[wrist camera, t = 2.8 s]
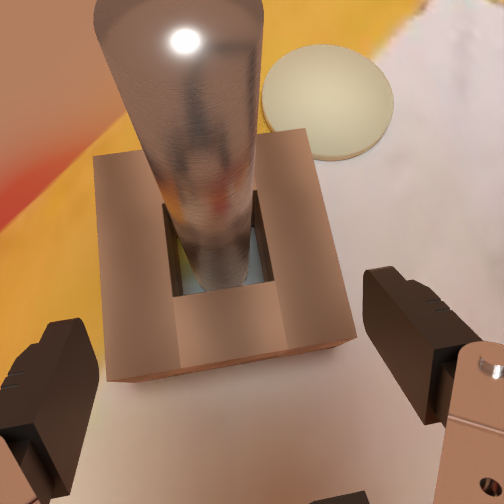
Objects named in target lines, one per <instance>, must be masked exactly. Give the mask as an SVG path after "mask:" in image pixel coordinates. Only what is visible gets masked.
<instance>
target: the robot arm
mask: <svg viewBox="0 0 504 504" xmlns="http://www.w3.org/2000/svg"><path fill="white" fill-rule="evenodd" d="M363 323H364V327H365V330H366V332H367V335H368V336H369V338H370V340H371V341H372V343H373V344H374V346H375V348H376V349H377V351H378V352H379V354H380V355H381V357H382V359H383V360H384V362H385V363H386V365H387V367H388V368H389V370H390V371H391V373H392V375H393V376H394V378H395V379H396V381H397V383H398V384H399V386H400V387H401V389H402V390H403V392H404V394H405V395H406V397H407V398H408V400H409V402H410V403H411V405H412V406H413V408H414V410H415V411H416V413H417V414H418V416H419V417H420V419H421V421H422V422H423V424H424V425H428V424H433V423H438V422H441V423H442V424H443V426H444V427H445V429H446V431H445V437H444V443H443V448H442V454H441V460H440V466H439V472H438V478H437V484H436V490H435V496H434V502H433V504H504V345H502V344H498V343H494V342H486V341H483V340H482V339H481V338H480V337H479V336H478V335H477V334H476V333H475V332H474V331H473V330H472V329H471V328H470V327H469V326H468V325H466V324H465V323H464V322H463V321H462V320H461V319H460V318H459V317H458V316H457V315H456V314H455V313H454V312H453V311H452V310H450V308H449V307H448V306H447V305H446V304H445V303H444V302H443V301H441V299H440V298H439V297H438V296H437V295H436V294H435V293H434V292H433V291H432V290H431V289H430V288H429V287H427V286H425V285H423V284H421V283H419V282H417V281H415V280H408V281H406V280H405V279H404V277H403V276H402V275H401V274H400V273H399V272H398V271H397V270H396V269H395V268H394V267H393V266H387V267H382V268H376V269H370V270H366V271H365V272H364V276H363ZM98 383H99V367H98V362H97V359H96V356H95V353H94V351H93V348H92V345H91V342H90V340H89V337H88V334H87V331H86V329H85V326H84V323H83V322H82V320H81V319H80V318H74V319H68V320H62V321H56V322H50V323H49V324H48V325H47V327H46V329H45V331H44V333H43V335H42V337H41V339H40V341H39V343H36V344H31V345H30V346H29V347H28V348H27V349H26V350H25V351H24V352H23V353H21V354H20V355H19V356H18V357H17V358H16V360H15V361H14V363H13V365H12V367H11V369H10V371H9V372H8V377H6V378H5V380H4V382H3V384H2V385H1V390H0V504H49V503H50V499H53V498H58V497H63V496H68V495H70V492H71V488H72V484H73V480H74V476H75V472H76V469H77V465H78V461H79V457H80V453H81V449H82V445H83V441H84V438H85V434H86V430H87V426H88V422H89V418H90V414H91V410H92V407H93V403H94V399H95V395H96V391H97V387H98ZM310 504H370V503H369V501H368V498H367V496H366V493H365V491H360V492H356V493H351V494H346V495H341V496H337V497H332V498H327V499H322V500H318V501H313V502H311V503H310Z"/></svg>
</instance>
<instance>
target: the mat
mask: <svg viewBox="0 0 504 504" xmlns="http://www.w3.org/2000/svg"><path fill="white" fill-rule="evenodd" d="M393 106H394V101H393V94H392V90H391V87H390V84H389V82H388V80H387V78H386V77H385V75H384V74H383V72H382V71H381V70H380V69H379V68H378V67H377V66H376V65H375V64H374V63H373V62H372V61H371V60H369V59H368V58H366V57H365V56H363V55H362V54H360V53H358V52H356V51H353V50H351V49H348V48H345V47H341V46H336V45H325V44H320V45H310V46H305V47H302V48H298V49H296V50H294V51H291V52H290V53H288V54H286V55H284V56H283V57H282V58H280V59H279V60H278V61H277V62H276V63H275V64H274V65H273V67H272V68H271V69H270V71H269V72H268V74H267V76H266V79H265V81H264V85H263V91H262V111H263V115H264V119H265V121H266V123H267V125H268V127H269V129H270V130H271V132H278V131H286V130H293V129H301V128H306V132H307V136H308V141H309V145H310V149H311V153H312V157H313V159H317V160H323V161H336V160H344V159H349V158H352V157H355V156H358V155H360V154H362V153H364V152H365V151H367V150H368V149H370V148H371V147H372V146H374V145H375V144H376V143H377V142H378V140H379V139H380V138H381V137H382V135H383V133H384V132H385V130H386V128H387V126H388V125H389V122H390V120H391V117H392V113H393Z"/></svg>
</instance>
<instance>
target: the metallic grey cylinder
mask: <svg viewBox="0 0 504 504" xmlns="http://www.w3.org/2000/svg"><path fill="white" fill-rule="evenodd" d="M263 22H264V11H263V4H262V1H261V0H97V2H96V5H95V10H94V28H95V33H96V36H97V39H98V41H99V43H100V46H101V49H102V51H103V54H104V56H105V58H106V61H107V63H108V66H109V68H110V71H111V73H112V75H113V78H114V80H115V83H116V85H117V87H118V90H119V92H120V95H121V97H122V100H123V102H124V105H125V107H126V110H127V112H128V114H129V117H130V119H131V122H132V124H133V127H134V129H135V131H136V134H137V136H138V139H139V141H140V144H141V146H142V148H143V151H144V153H145V156H146V158H147V161H148V163H149V166H150V168H151V170H152V173H153V175H154V178H155V180H156V183H157V185H158V187H159V190H160V192H161V195H162V197H163V200H164V202H165V204H166V207H167V209H168V212H169V214H170V217H171V219H172V222H173V224H174V226H175V229H176V231H177V234H178V236H179V239H180V241H181V243H182V246H183V248H184V251H185V253H186V256H187V258H188V260H189V263H190V265H191V268H192V270H193V273H194V275H195V278H196V280H197V282H198V283H199V285H200V286H201V287H202V288H203V289H204V290H206V291H208V292H209V291H215V290H221V289H227V288H233V287H239V286H242V284H243V283H244V282H245V280H246V277H247V274H248V263H249V247H250V231H251V215H252V199H253V183H254V167H255V151H256V135H257V119H258V103H259V87H260V71H261V55H262V39H263Z"/></svg>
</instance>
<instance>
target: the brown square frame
mask: <svg viewBox="0 0 504 504" xmlns="http://www.w3.org/2000/svg"><path fill="white" fill-rule="evenodd" d="M93 166H94V182H95V198H96V214H97V230H98V247H99V263H100V279H101V295H102V311H103V327H104V343H105V359H106V375H107V381H108V382H129V383H135V382H141V381H147V380H152V379H158V378H164V377H169V376H175V375H180V374H186V373H192V372H197V371H203V370H209V369H214V368H220V367H226V366H231V365H237V364H242V363H248V362H254V361H259V360H265V359H271V358H276V357H282V356H287V355H293V354H299V353H304V352H310V351H316V350H321V349H327V348H332V347H336V346H338V345H341V344H343V343H345V342H347V341H350V340H352V339H354V338H357V334H356V330H355V326H354V322H353V318H352V314H351V310H350V306H349V302H348V298H347V294H346V290H345V286H344V281H343V277H342V273H341V269H340V265H339V261H338V257H337V253H336V249H335V245H334V241H333V237H332V233H331V229H330V225H329V221H328V217H327V213H326V209H325V205H324V201H323V197H322V193H321V189H320V185H319V181H318V177H317V173H316V169H315V165H314V161H313V157H312V153H311V149H310V145H309V141H308V136H307V132H306V128H301V129H293V130H286V131H278V132H271V133H263V134H257V135H256V151H255V167H254V183H253V199H252V215H251V226H252V225H254V228H255V233H256V238H257V244H258V249H259V254H260V260H261V265H262V270H263V276H264V281H265V282H264V283H258V284H252V285H246V286H239V287H233V288H227V289H221V290H215V291H209V292H203V293H197V294H190V295H184V296H183V288H182V280H181V272H180V264H179V256H178V248H177V240H176V237H179V236H178V234H177V231H176V229H175V226H174V224H173V222H172V219H171V217H170V214H169V212H168V209H167V207H166V204H165V202H164V200H163V197H162V195H161V192H160V190H159V187H158V185H157V183H156V180H155V178H154V175H153V173H152V170H151V168H150V166H149V163H148V161H147V158H146V156H145V153H144V151H143V150H137V151H130V152H122V153H115V154H107V155H100V156H93Z"/></svg>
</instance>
